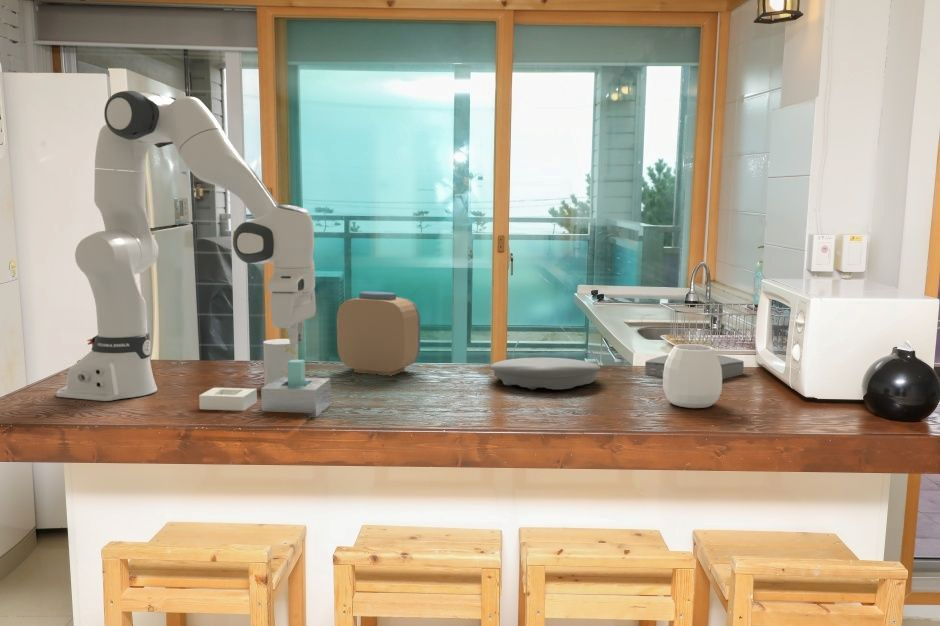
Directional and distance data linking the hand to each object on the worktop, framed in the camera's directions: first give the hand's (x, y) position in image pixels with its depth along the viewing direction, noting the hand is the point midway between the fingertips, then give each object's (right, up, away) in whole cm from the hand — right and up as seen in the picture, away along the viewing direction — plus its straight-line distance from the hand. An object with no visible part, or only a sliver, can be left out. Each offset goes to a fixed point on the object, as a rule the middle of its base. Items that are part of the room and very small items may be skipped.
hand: (296, 342), depth 190 cm
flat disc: (+58, -12, +32) cm, 67 cm away
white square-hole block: (-15, -15, +2) cm, 21 cm away
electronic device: (+98, -11, +44) cm, 108 cm away
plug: (0, -14, +2) cm, 14 cm away
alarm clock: (+14, -10, +44) cm, 47 cm away
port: (0, -15, +2) cm, 15 cm away
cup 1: (-8, -13, +22) cm, 26 cm away
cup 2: (+89, -15, +8) cm, 91 cm away
